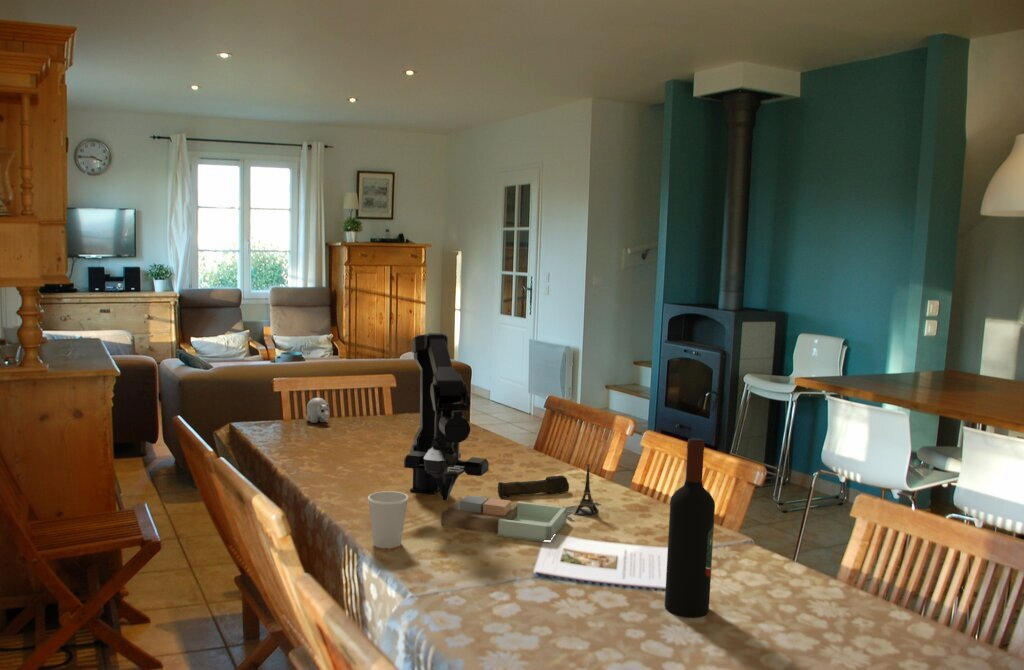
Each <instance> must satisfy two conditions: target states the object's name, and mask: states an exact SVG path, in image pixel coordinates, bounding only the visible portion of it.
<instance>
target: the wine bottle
mask: <svg viewBox="0 0 1024 670" xmlns="http://www.w3.org/2000/svg"><path fill="white" fill-rule="evenodd" d="M686 446H687V447H686V448H687V452H686V466H685V467H686V470H685V471H686V472H685V482H684V484H683V486H681V487H679V488H678V489H677V490H675V492H673V494H672V496H671V497H670V505H669V518H668V519H669V520H668V539H667V553H666V554H667V556H666V558H667V559H666V571H665V572H666V575H665V576H666V577H665V590H664V591H665V593H664V596H665V597H664V608H665V610H666V611H667V612H669V613H670V614H673V615H674V616H677V617H678V616H679V617H681V618H682V617H683V618H692V619H694V618H701V617H705V616H706V615H708V614H709V611H710V599H711V598H710V596H711V595H710V594H711V579H712V565H713V564H712V562H713V561H712V560H713V544H714V529H715V528H714V527H715V513H716V511H715V510H716V504H715V500H714V498H713V496H712V495H711V493H710V492H709V491H708V490H707V489H706V488H705V487H704V486H703V471H704V470H703V469H704V456H705V455H704V454H705V452H704V451H705V440H704V439H702V438H698V437H697V438H696V437H691V438H690V437H689V438H688V439H687V443H686Z"/></svg>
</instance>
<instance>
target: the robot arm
mask: <svg viewBox="0 0 1024 670" xmlns="http://www.w3.org/2000/svg"><path fill="white" fill-rule="evenodd" d="M410 344H411V347H410V348H411V353H412V354H413V361H415V363H416V365H417V366H418V368H419V428H418V429H417V431H416V433H415V435H414V436H413V444H411V447H410V451H409V453H408V454H407V455H406V456H404V460H403V467H404V469H412V487H411V488H410V489H409V491H410V492H415V493H424V494H431V495H433V494H436V493H437V492H438V491H439V493H440V496H441V499H442V501H448V500H449V498H450V495H451V492H452V491H453V487H454V485H455V483H456V481H457V479H458V477H460V475H462V474H463V473H465V474H466V475H467V476H475V477H482V476H483V475H484V474H486V473H487V472H489V470H490V469H489V468H490V466H489V465H490V464H489V461H488V460H487V458H484V457H483V458H482V457H474V456H472V457H470V458H469V459H468V460H461V456H462V454H461V453H460V443H462V442H464V441H466V440H467V439H468V438H469V436H470V432H471V426H470V425H471V424H470V423H469V421H468V420H467V419H466V418H465V417H464V416H463V412H467V411H468V412H469V411H470V406H471V398H470V394H469V389H468V387H467V384H466V383H465V382H464V380H463V378H462V375H461V373H460V372H458V371H456V370H455V369H454V367H453V364H452V361H451V356H450V353H449V337H448V336H447V334H445V333H443V332H428V333H425V334H416V336H414V337H413V338H412V339H411V343H410Z"/></svg>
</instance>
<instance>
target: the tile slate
mask: <svg viewBox="0 0 1024 670" xmlns="http://www.w3.org/2000/svg"><path fill="white" fill-rule="evenodd" d="M461 499H462V500H461V501H460V510H464V511H472V512H479V513H481V512H482V511H483V504H484V503H485V502H486V501H488V500H489V498H488V497H483V496H477V495H476V496H475V495H466V496H464V498H461Z"/></svg>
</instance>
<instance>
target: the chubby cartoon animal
mask: <svg viewBox="0 0 1024 670" xmlns="http://www.w3.org/2000/svg"><path fill="white" fill-rule="evenodd" d="M306 413H307V414H306V416H305V417H306V421H310V422H309V423H312V424H316V423H318V422H319V423H326V422H327V421H328V419H329V418H330V417H331V416H330V415H331V414H330V407H329V403H327V401H326V400H325V399H324V398H322V397H314V398H312V399H310V400H309V401H308V403H307V404H306Z"/></svg>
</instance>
